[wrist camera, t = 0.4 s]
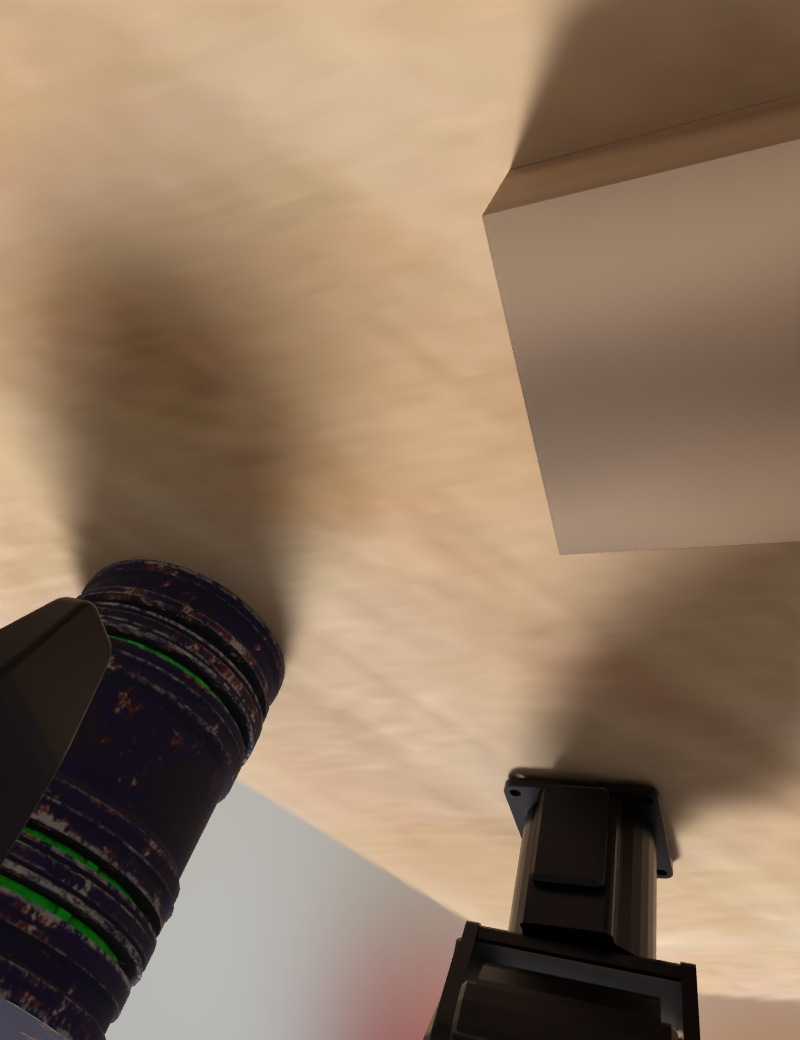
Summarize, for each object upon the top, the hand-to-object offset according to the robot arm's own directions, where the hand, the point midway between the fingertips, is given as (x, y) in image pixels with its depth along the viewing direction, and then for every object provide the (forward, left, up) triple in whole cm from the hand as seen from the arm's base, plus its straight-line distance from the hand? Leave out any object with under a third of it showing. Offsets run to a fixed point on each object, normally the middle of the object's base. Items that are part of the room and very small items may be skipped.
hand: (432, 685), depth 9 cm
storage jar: (-13, +19, -14) cm, 27 cm away
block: (-2, -4, -14) cm, 15 cm away
